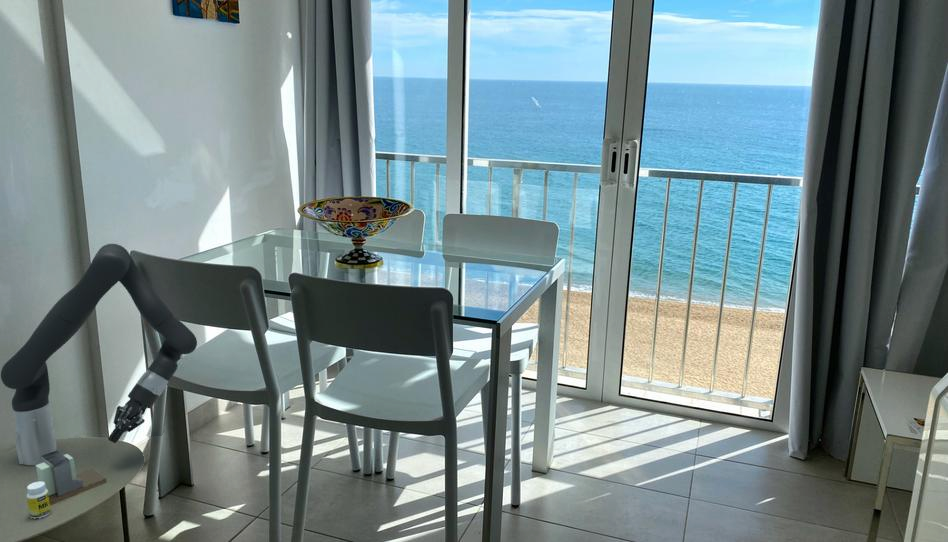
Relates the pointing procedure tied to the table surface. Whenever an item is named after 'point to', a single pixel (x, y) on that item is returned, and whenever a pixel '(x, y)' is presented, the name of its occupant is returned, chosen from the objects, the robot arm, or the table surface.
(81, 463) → the table surface
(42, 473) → the mint green block
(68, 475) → the base
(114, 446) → the table surface
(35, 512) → the supplement bottle
